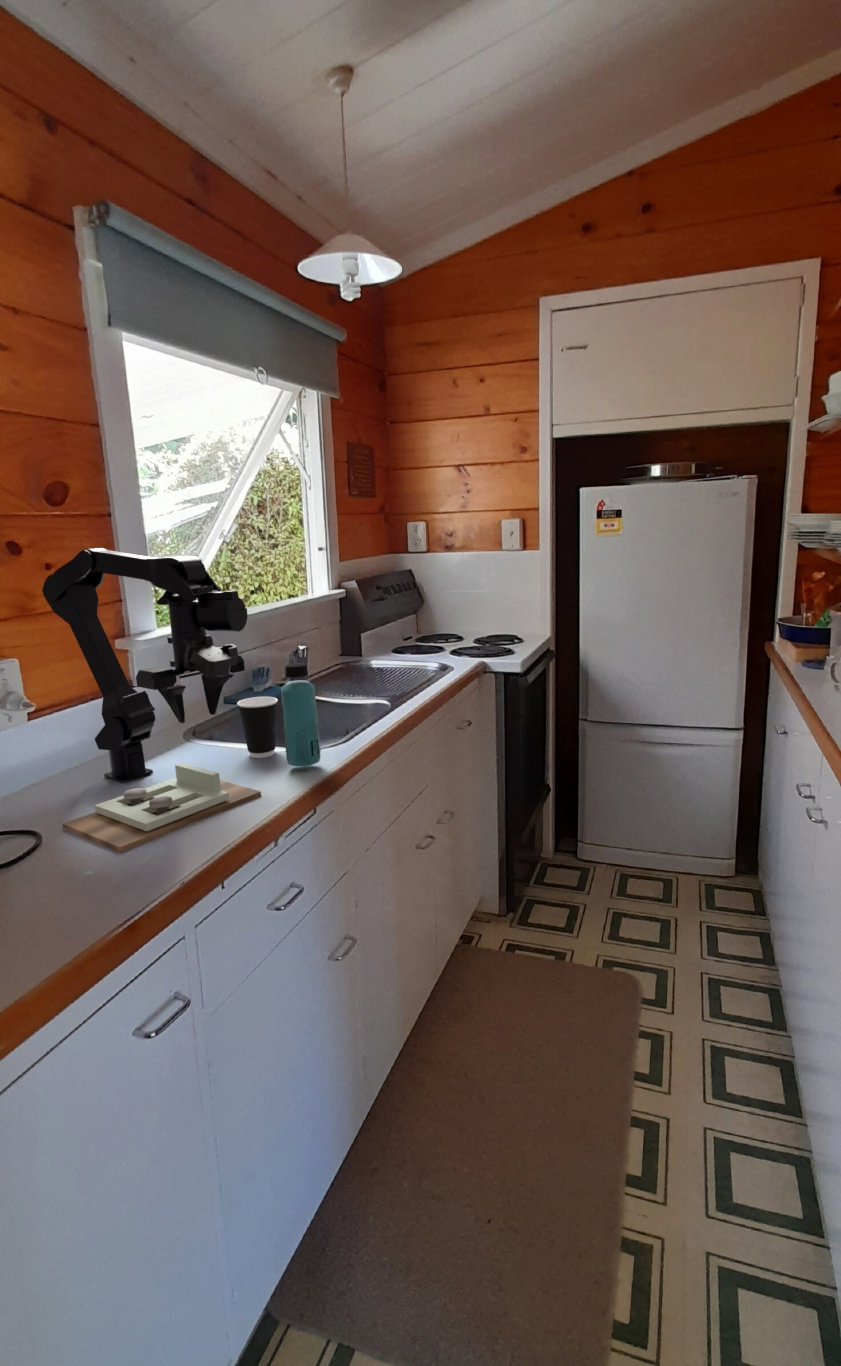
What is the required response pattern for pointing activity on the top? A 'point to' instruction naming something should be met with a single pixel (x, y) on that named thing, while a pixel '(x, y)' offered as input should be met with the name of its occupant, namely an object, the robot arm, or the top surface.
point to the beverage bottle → (300, 718)
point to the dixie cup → (259, 725)
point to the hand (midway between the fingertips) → (197, 718)
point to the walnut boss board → (129, 836)
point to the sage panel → (186, 791)
